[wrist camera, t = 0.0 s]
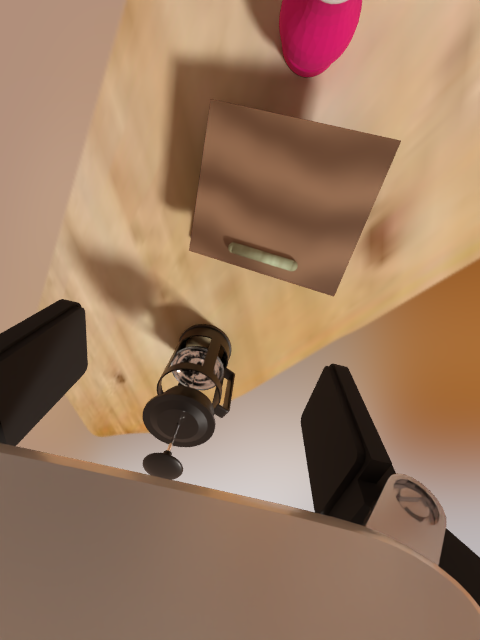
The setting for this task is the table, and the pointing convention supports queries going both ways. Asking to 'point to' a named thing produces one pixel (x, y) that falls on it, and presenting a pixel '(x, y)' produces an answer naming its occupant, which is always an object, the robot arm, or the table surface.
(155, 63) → the table surface
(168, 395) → the french press
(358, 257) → the table surface
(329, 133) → the board
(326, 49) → the pepper mill
